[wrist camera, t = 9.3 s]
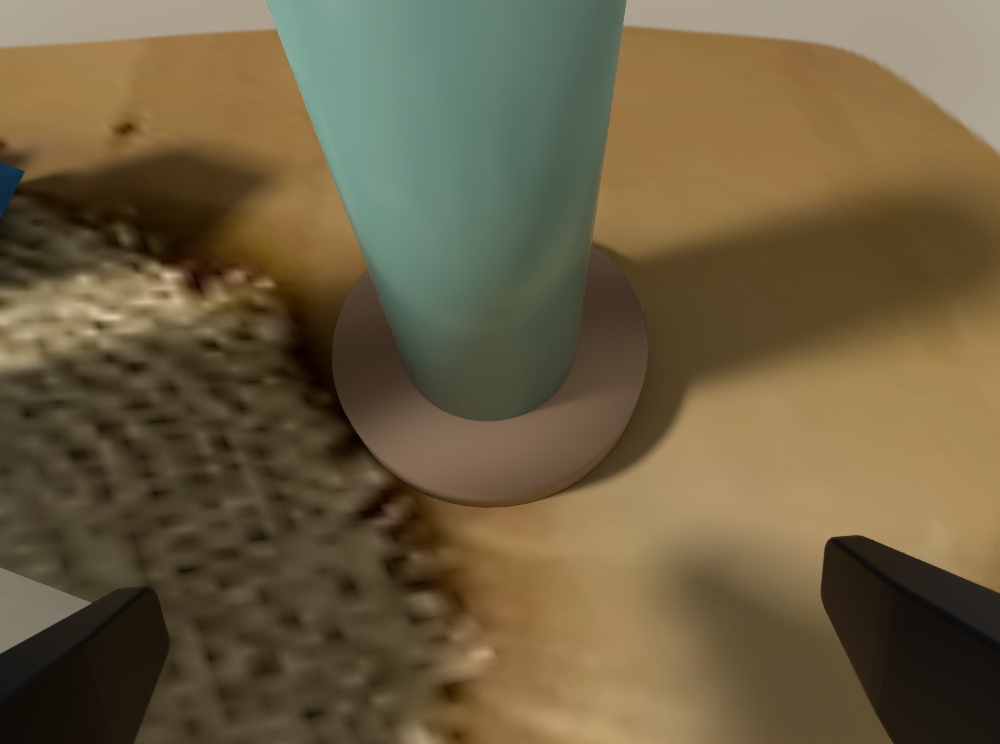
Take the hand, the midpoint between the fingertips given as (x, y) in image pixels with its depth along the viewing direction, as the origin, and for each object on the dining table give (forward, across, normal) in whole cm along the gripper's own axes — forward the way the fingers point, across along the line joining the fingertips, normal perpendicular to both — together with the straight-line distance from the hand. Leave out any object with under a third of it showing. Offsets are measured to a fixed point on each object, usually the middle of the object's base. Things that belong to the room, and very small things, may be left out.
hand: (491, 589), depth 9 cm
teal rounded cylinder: (+10, 0, -1) cm, 11 cm away
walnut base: (+12, 0, 0) cm, 12 cm away
